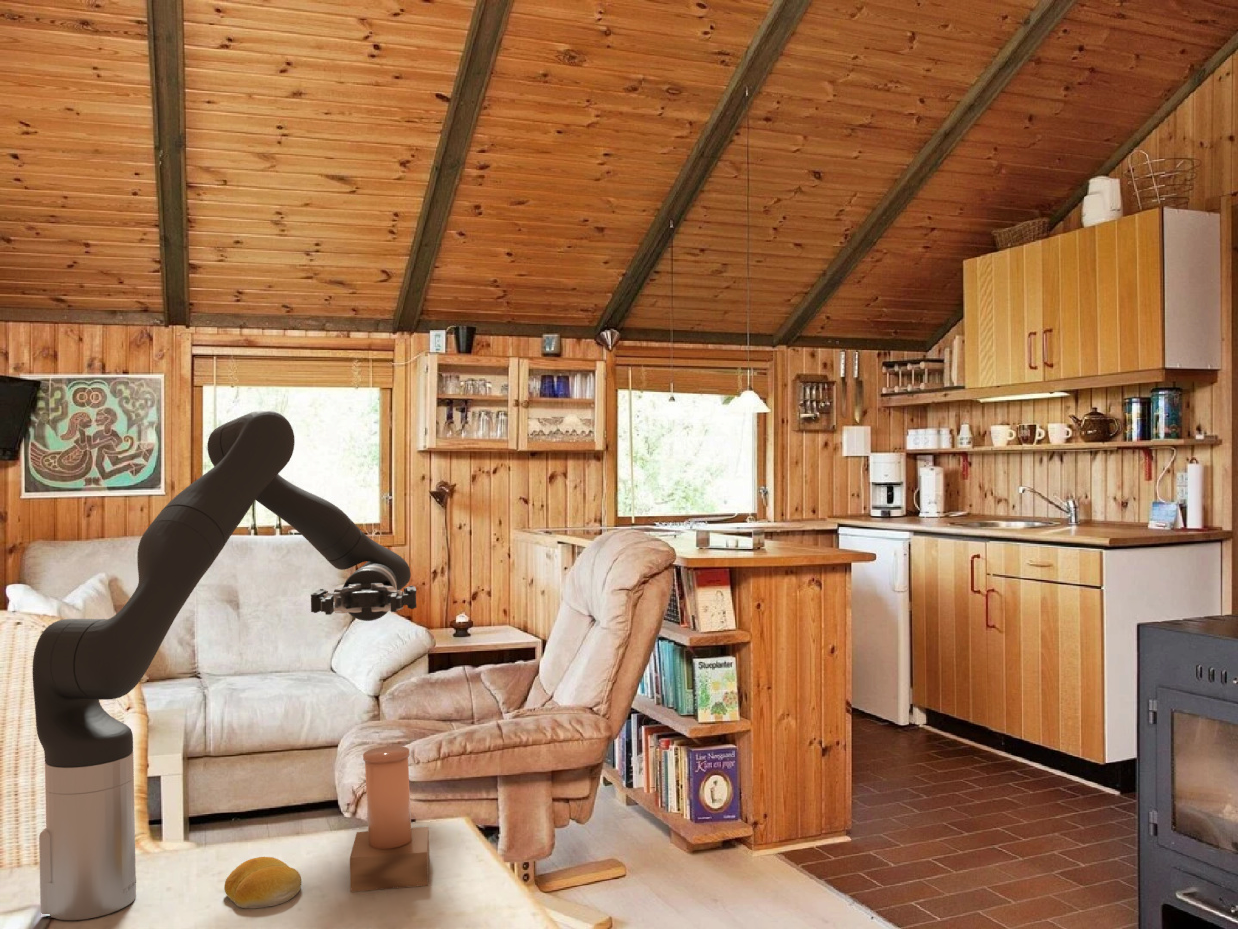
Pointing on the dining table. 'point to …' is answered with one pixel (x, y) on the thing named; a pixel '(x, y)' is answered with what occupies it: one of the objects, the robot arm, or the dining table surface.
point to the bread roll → (262, 883)
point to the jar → (388, 796)
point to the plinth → (390, 863)
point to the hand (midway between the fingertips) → (360, 605)
